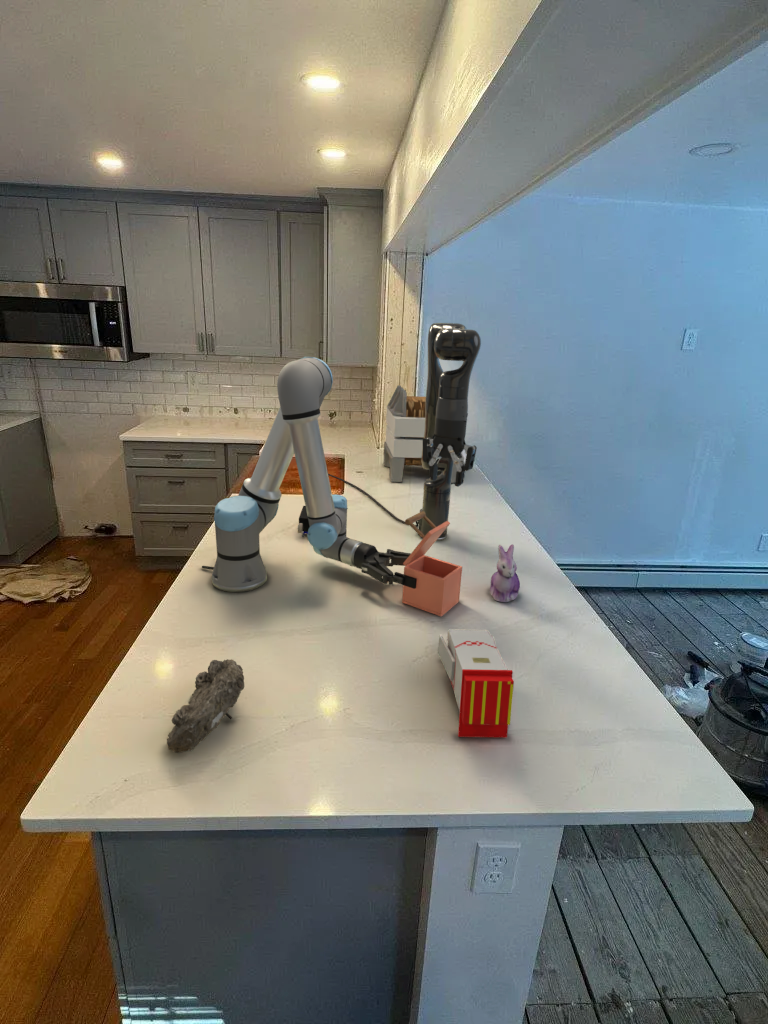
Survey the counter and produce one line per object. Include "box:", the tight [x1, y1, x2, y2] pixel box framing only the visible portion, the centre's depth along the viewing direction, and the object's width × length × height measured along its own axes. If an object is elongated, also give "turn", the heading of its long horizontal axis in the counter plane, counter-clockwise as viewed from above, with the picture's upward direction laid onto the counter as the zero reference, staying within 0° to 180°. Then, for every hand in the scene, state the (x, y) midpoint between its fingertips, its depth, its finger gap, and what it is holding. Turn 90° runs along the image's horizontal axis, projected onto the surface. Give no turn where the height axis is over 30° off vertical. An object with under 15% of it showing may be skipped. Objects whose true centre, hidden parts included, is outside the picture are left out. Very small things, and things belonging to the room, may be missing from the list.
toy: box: [437, 628, 515, 738], centre depth 117 cm, size 12×13×30 cm
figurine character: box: [297, 505, 310, 538], centre depth 197 cm, size 7×8×15 cm
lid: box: [403, 511, 451, 567], centre depth 151 cm, size 13×10×8 cm
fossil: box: [166, 658, 245, 754], centre depth 106 cm, size 22×10×15 cm
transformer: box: [383, 384, 458, 484], centre depth 268 cm, size 34×33×41 cm
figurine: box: [489, 544, 521, 603], centre depth 157 cm, size 9×10×15 cm
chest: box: [401, 554, 463, 617], centre depth 152 cm, size 12×10×11 cm
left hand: (426, 576), depth 153 cm, fingers closed on chest, 10 cm apart
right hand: (445, 482), depth 142 cm, fingers open, 6 cm apart
